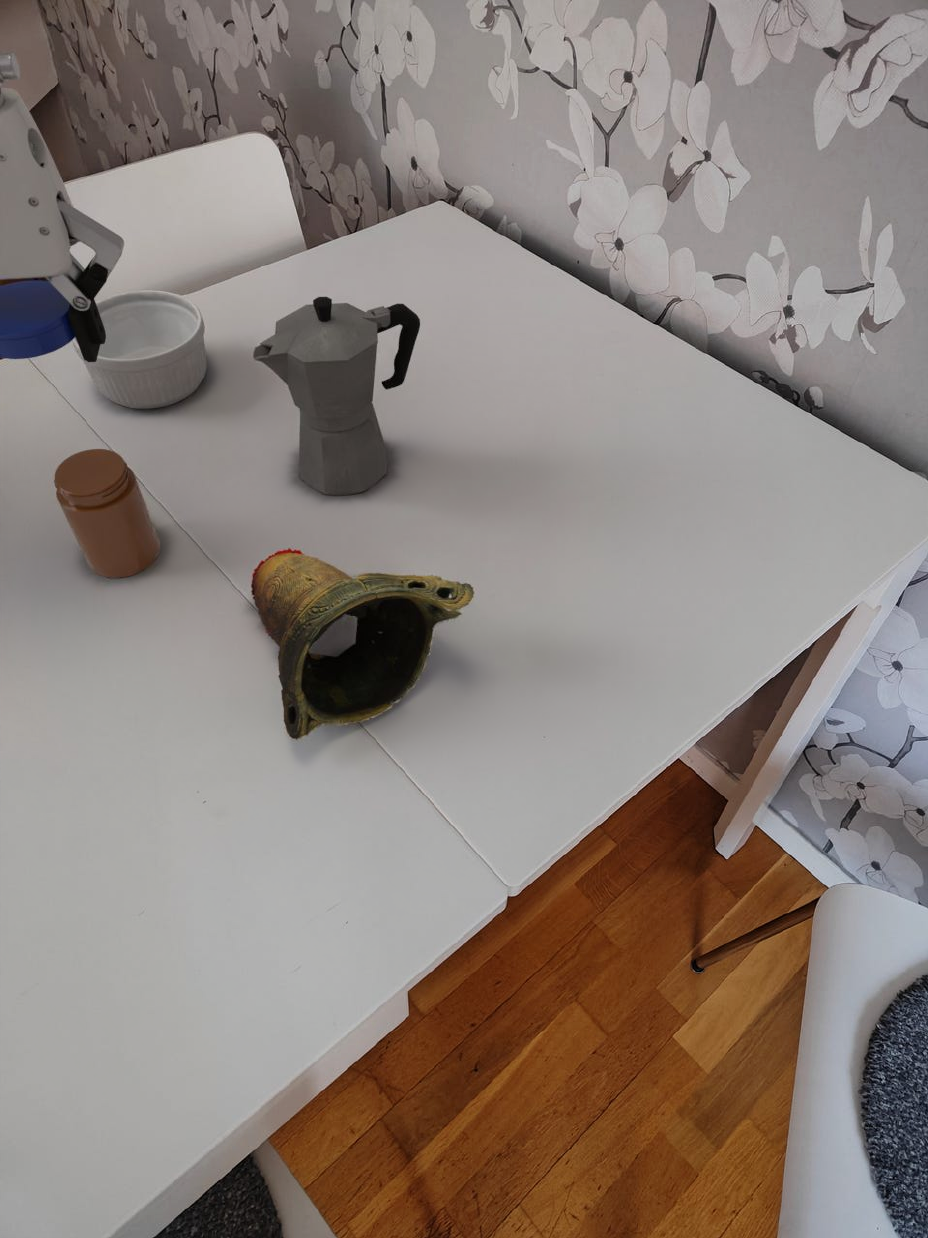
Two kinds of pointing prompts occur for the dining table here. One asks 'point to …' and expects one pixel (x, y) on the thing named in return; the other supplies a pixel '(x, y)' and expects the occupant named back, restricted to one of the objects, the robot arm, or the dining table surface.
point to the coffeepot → (338, 387)
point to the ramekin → (148, 349)
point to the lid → (32, 320)
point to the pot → (385, 635)
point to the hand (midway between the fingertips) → (40, 352)
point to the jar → (106, 513)
